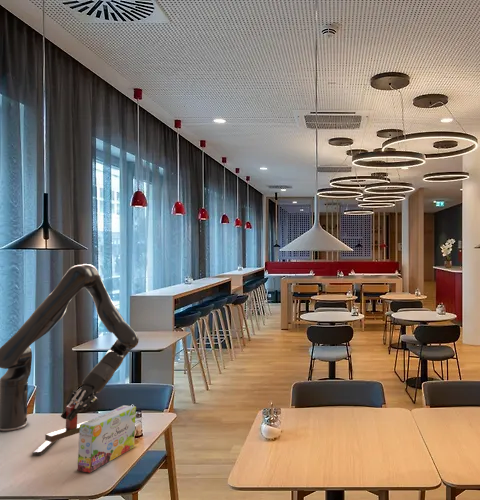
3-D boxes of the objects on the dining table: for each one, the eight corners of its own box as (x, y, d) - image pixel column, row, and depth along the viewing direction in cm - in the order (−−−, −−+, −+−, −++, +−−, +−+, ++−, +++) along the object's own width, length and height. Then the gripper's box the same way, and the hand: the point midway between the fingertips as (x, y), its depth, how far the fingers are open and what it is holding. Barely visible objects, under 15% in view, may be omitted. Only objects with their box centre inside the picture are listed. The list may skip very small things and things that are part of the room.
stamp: (45, 440, 160) (46, 411, 161) (89, 425, 175) (90, 399, 175) (50, 442, 159) (51, 412, 159) (95, 427, 173) (96, 400, 173)
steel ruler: (32, 455, 159) (32, 452, 159) (50, 440, 172) (50, 436, 173) (40, 455, 159) (40, 451, 159) (58, 439, 173) (58, 436, 173)
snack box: (91, 473, 147) (93, 425, 147) (76, 471, 148) (78, 424, 148) (135, 447, 168) (136, 405, 168) (121, 445, 169) (123, 404, 169)
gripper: (81, 369, 177) (46, 410, 166) (104, 374, 170) (70, 417, 159) (94, 379, 181) (61, 420, 170) (117, 385, 175) (84, 427, 164)
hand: (65, 418), depth 165 cm, fingers closed on stamp, 2 cm apart
